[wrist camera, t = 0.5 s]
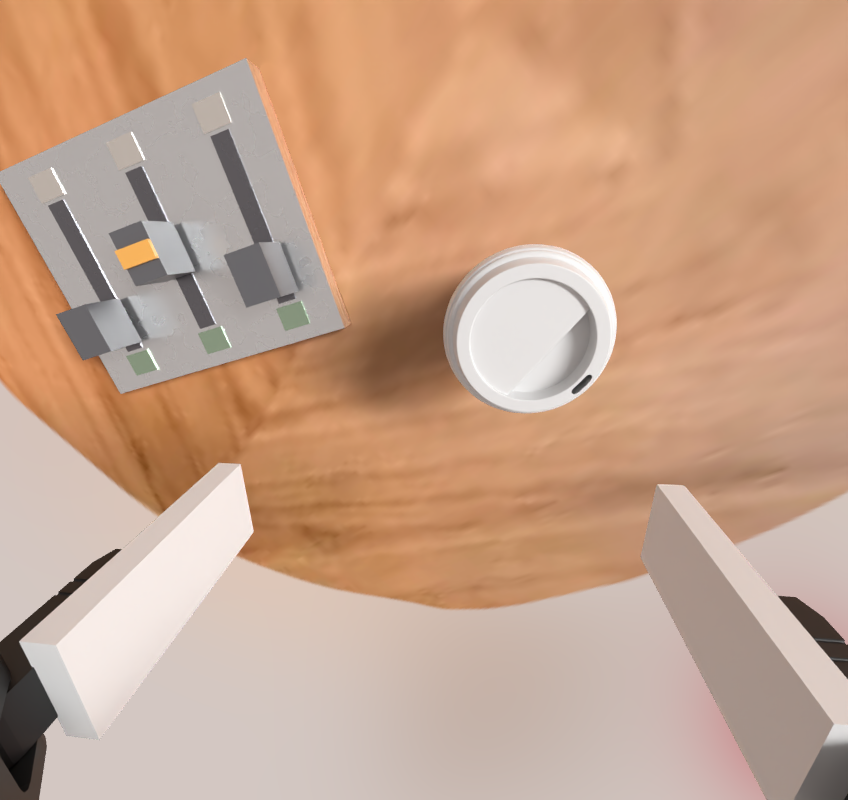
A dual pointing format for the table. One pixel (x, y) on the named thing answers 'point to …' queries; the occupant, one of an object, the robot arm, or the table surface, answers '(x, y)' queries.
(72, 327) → the block
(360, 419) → the table surface
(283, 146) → the panel
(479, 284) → the coffee cup
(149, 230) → the breaker
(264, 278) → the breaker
